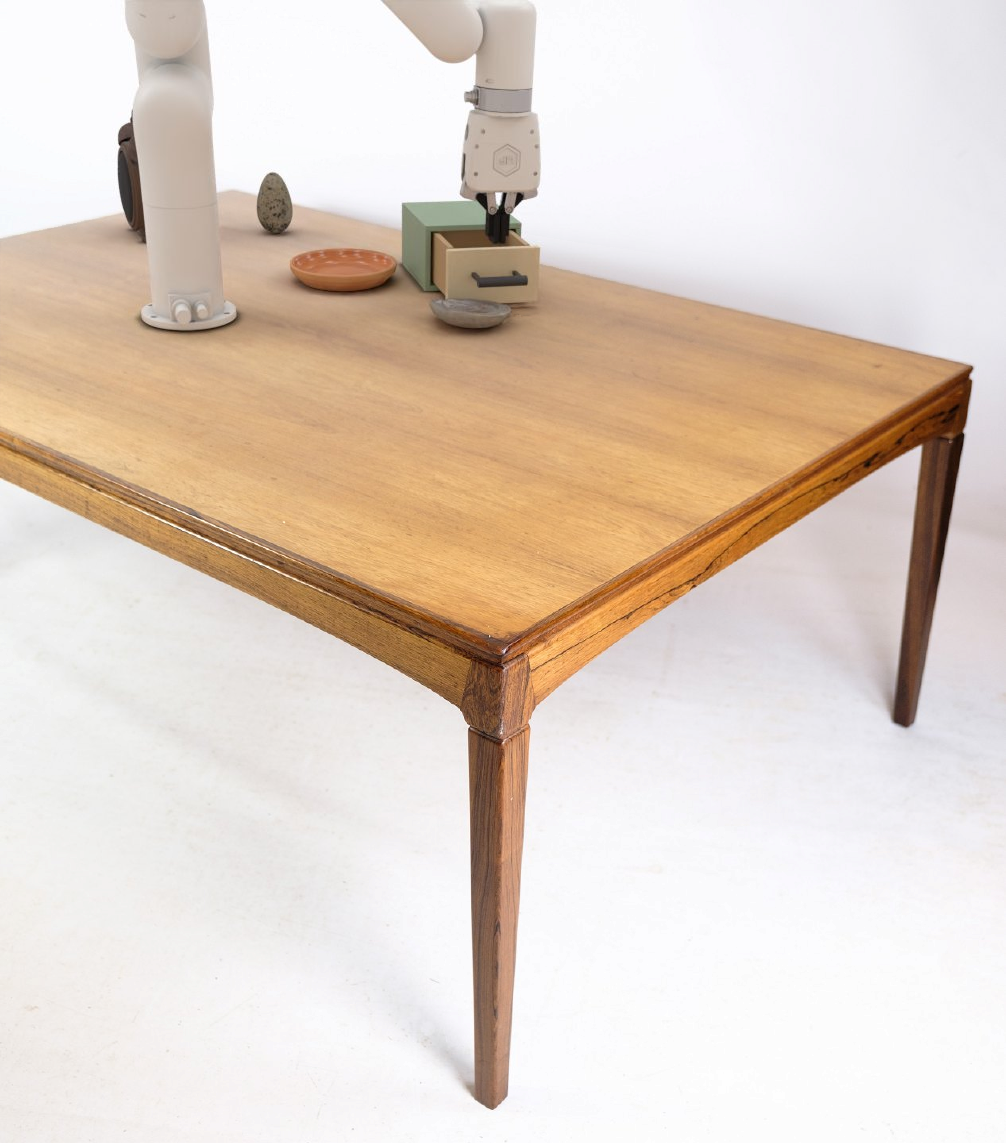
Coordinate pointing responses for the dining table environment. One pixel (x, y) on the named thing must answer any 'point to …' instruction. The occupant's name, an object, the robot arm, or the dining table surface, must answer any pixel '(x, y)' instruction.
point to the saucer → (343, 268)
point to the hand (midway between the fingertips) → (496, 241)
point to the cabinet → (437, 218)
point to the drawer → (484, 267)
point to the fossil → (470, 312)
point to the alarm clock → (130, 178)
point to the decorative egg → (274, 204)
